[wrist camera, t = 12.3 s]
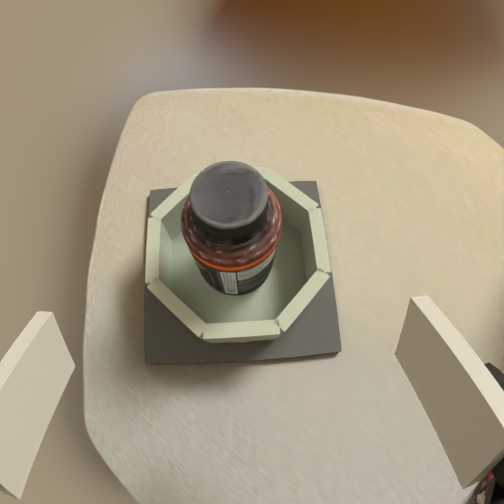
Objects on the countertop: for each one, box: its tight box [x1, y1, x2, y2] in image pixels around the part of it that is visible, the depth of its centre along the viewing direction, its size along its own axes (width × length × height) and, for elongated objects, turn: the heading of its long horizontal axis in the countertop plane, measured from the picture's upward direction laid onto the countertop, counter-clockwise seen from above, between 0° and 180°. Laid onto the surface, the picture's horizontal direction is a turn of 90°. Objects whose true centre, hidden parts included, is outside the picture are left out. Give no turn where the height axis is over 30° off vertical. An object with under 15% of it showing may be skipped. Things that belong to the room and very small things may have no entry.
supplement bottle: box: [181, 161, 282, 296], centre depth 21 cm, size 6×6×11 cm
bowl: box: [145, 166, 331, 343], centre depth 25 cm, size 13×13×5 cm
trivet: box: [145, 181, 341, 364], centre depth 27 cm, size 16×16×1 cm
